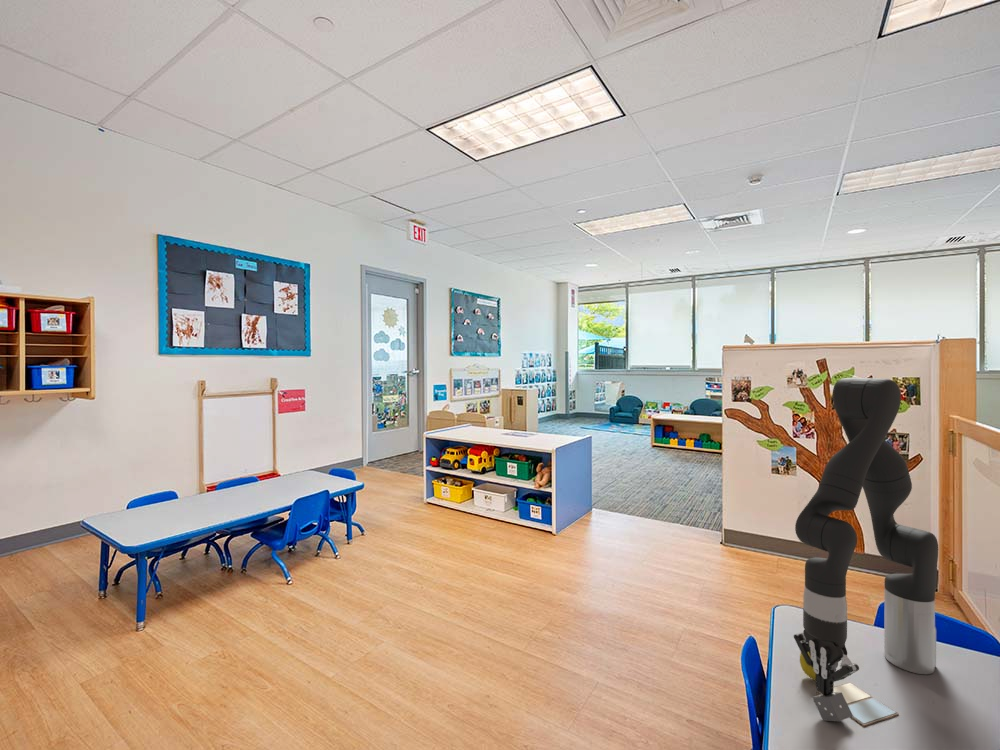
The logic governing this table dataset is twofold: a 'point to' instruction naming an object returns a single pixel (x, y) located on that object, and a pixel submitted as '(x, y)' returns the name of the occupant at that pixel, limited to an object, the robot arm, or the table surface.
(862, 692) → the board
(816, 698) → the die
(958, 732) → the table surface
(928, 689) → the table surface
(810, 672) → the lemon
